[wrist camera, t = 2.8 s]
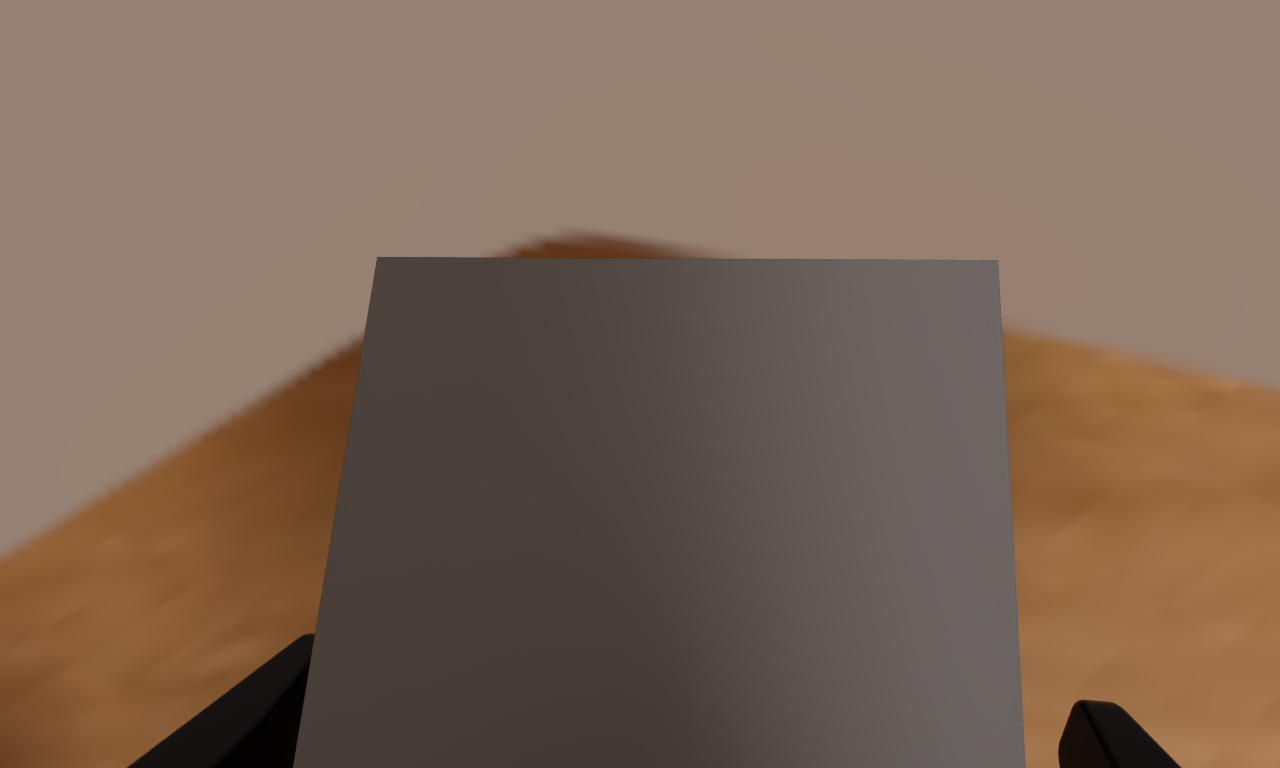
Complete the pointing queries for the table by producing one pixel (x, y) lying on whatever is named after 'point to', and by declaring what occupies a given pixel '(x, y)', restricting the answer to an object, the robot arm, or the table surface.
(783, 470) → the gray block
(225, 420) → the table surface
